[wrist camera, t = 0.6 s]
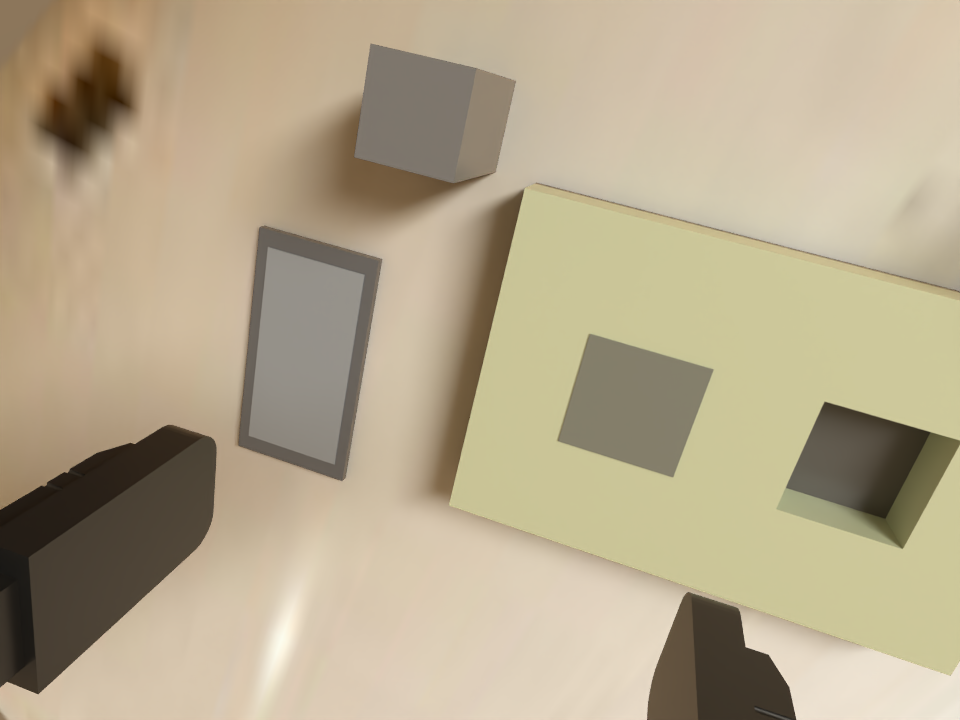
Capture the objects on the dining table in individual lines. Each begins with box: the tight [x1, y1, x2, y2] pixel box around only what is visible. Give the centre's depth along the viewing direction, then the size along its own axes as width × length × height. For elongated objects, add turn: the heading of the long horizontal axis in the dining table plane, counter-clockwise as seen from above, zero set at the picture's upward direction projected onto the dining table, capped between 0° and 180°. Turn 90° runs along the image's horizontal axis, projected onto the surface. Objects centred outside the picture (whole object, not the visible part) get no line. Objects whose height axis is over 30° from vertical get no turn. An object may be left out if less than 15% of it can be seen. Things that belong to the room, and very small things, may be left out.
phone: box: [239, 226, 382, 481], centre depth 37 cm, size 13×7×1 cm, turn 167°
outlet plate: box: [449, 183, 960, 676], centre depth 31 cm, size 16×24×3 cm, turn 77°
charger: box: [354, 44, 516, 183], centre depth 28 cm, size 4×4×7 cm
